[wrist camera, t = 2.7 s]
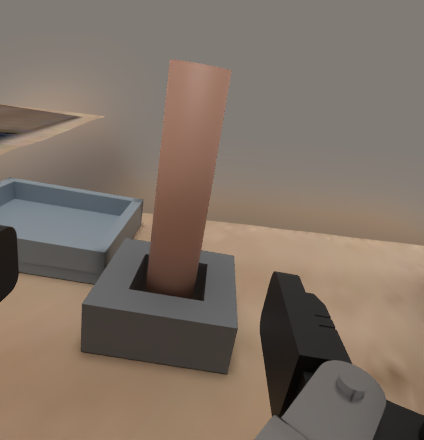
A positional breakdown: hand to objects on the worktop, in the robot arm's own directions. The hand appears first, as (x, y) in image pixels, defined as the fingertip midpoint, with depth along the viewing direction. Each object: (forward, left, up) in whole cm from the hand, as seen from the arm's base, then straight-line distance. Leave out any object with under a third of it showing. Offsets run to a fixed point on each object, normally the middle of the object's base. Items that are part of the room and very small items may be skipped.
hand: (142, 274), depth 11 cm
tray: (+13, -20, -10) cm, 26 cm away
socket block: (0, -11, -10) cm, 15 cm away
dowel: (0, -11, -10) cm, 15 cm away
